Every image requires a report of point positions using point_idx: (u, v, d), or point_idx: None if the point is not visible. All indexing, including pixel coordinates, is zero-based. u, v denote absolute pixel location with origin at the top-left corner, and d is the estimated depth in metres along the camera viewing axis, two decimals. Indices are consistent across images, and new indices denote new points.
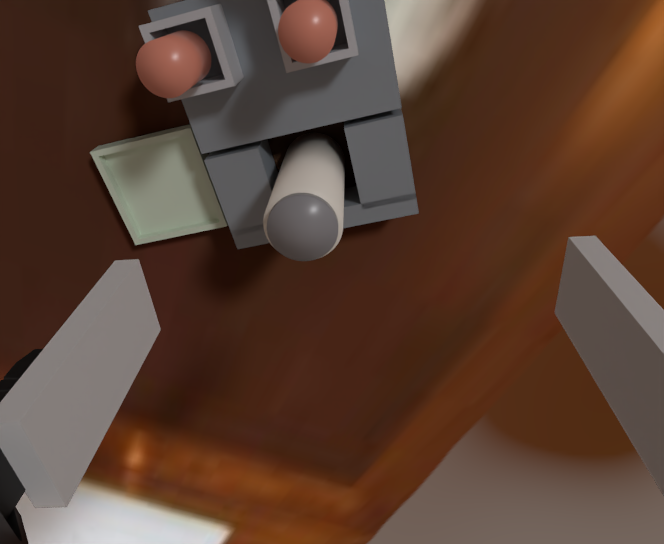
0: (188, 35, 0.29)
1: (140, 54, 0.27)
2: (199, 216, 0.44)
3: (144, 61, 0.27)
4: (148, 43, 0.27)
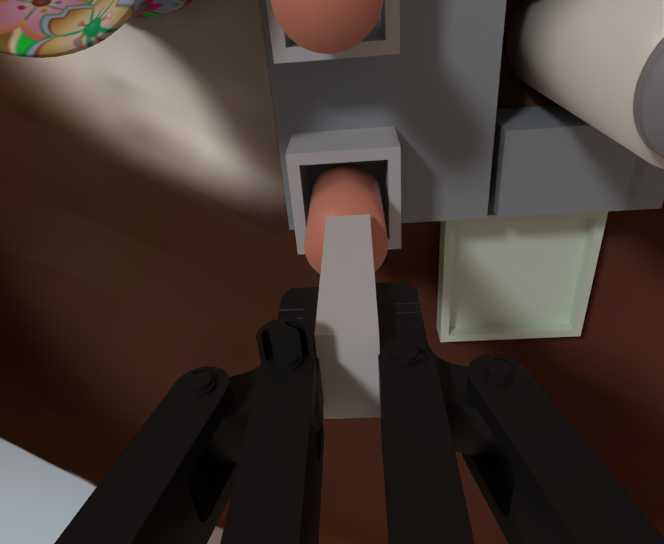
0: (315, 190, 0.20)
1: (319, 270, 0.18)
2: (574, 241, 0.29)
3: None
4: (307, 255, 0.18)
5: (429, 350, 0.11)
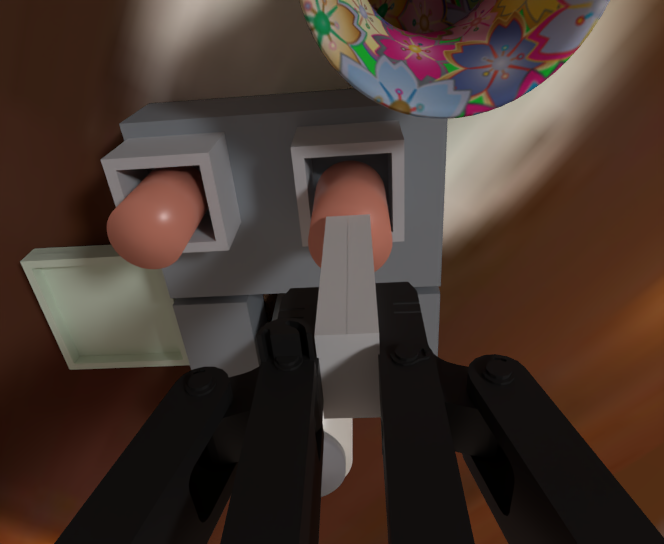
0: (185, 177, 0.22)
1: (114, 213, 0.19)
2: (157, 346, 0.34)
3: (119, 223, 0.19)
4: (128, 204, 0.19)
5: (429, 350, 0.11)
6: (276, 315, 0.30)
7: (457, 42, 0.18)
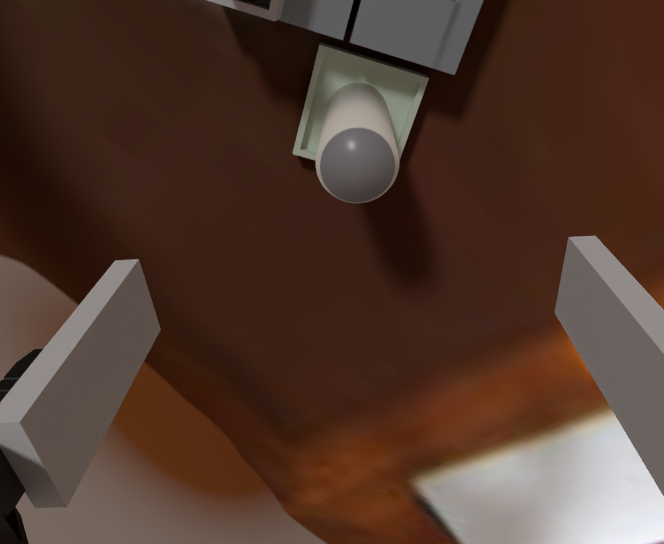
0: None
1: None
2: (403, 102, 0.40)
3: None
4: None
5: None
6: (330, 104, 0.37)
7: None
